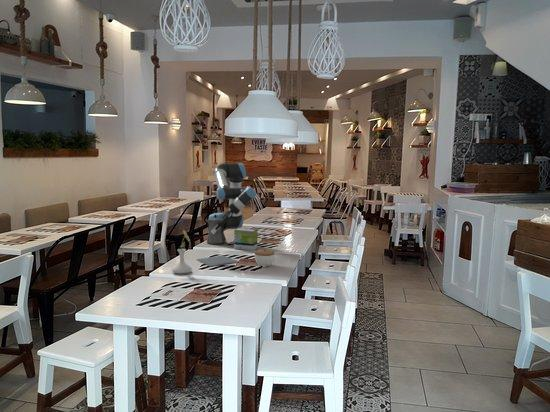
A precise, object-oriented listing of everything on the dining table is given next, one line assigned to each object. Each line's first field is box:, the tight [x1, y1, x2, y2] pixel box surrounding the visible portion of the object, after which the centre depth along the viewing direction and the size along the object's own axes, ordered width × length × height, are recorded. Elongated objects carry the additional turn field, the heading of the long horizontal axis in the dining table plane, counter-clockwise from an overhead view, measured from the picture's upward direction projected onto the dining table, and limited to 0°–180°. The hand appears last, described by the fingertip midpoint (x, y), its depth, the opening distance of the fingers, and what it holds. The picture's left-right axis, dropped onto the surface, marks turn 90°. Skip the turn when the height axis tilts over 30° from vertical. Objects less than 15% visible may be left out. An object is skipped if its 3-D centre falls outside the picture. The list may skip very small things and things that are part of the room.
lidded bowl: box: [254, 248, 275, 267], centre depth 272 cm, size 13×13×11 cm
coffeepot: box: [205, 215, 227, 243], centre depth 280 cm, size 15×9×18 cm, turn 126°
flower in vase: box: [171, 229, 193, 275], centre depth 255 cm, size 13×11×25 cm
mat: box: [196, 254, 239, 268], centre depth 283 cm, size 20×20×1 cm
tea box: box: [233, 227, 258, 251], centre depth 319 cm, size 15×10×15 cm, turn 73°
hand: (211, 231), depth 280 cm, fingers closed on coffeepot, 8 cm apart
